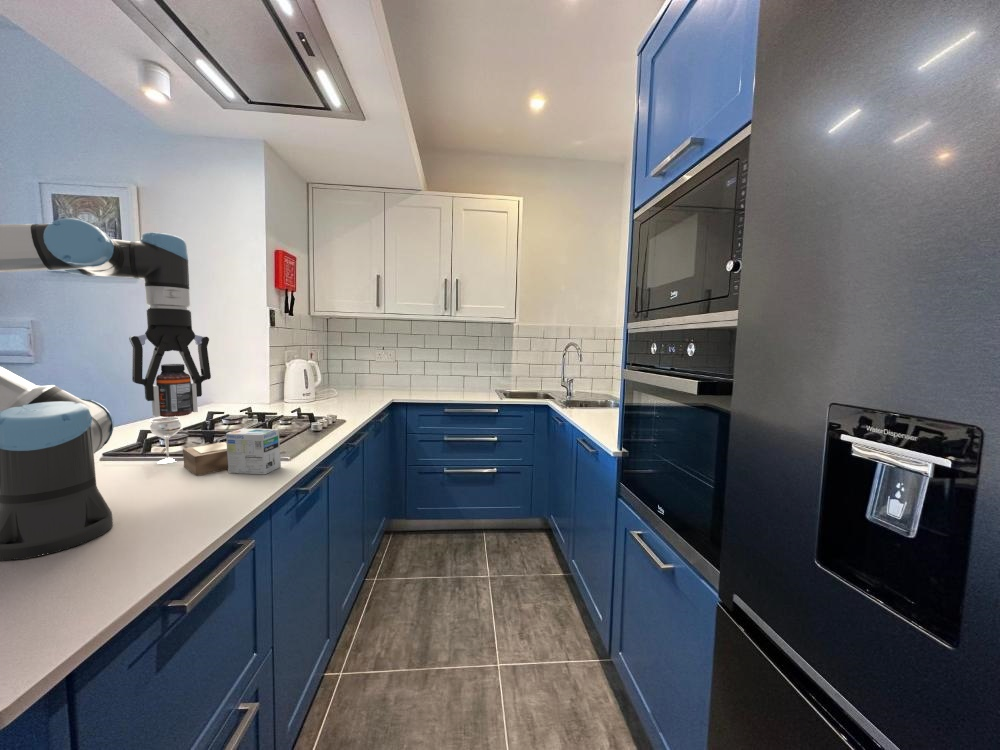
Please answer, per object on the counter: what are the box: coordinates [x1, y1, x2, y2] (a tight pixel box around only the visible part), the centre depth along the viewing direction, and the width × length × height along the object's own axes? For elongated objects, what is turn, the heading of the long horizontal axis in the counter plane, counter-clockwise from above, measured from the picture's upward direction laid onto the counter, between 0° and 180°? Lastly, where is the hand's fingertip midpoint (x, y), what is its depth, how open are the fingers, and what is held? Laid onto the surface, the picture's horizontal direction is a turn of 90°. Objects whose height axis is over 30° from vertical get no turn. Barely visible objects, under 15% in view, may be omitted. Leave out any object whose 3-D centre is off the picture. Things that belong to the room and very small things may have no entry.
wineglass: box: [149, 416, 182, 464], centre depth 115 cm, size 7×7×12 cm
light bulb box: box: [225, 427, 282, 475], centre depth 108 cm, size 11×7×11 cm, turn 84°
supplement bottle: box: [155, 363, 193, 418], centre depth 90 cm, size 6×6×11 cm
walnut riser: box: [182, 441, 228, 477], centre depth 111 cm, size 11×11×5 cm
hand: (175, 413), depth 90 cm, fingers closed on supplement bottle, 6 cm apart
